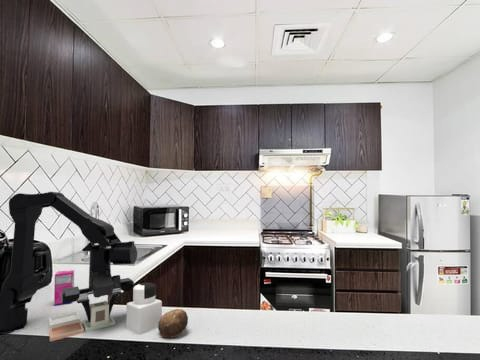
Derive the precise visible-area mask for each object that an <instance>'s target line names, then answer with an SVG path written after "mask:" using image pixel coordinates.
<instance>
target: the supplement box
mask: <svg viewBox="0 0 480 360" xmlns="http://www.w3.org/2000/svg"><path fill="white" fill-rule="evenodd" d="M71 287H75V269H74V268H73V269H68V270H60V271H59V270H58V271H57V272H56V273H55V274H54V291H53V292H54V294H53V295H54V297H53V298H54V299H53V304H54V305H53V306H54V307H58V306H61V305H62V306H63V305H69V304H72V303H73V302H69V303H62V291H63V290H64V289H65V288H71Z"/></svg>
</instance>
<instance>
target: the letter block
mask: <svg viewBox="0 0 480 360" xmlns="http://www.w3.org/2000/svg"><path fill="white" fill-rule="evenodd" d="M107 301H108V300H104V301H99V302H95V303H89V305H90V315H91V320H90V322H89V325H90V327H93V326H97V325H101V324H105V323H109V304H108V303H107Z"/></svg>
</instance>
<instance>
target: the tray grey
mask: <svg viewBox="0 0 480 360" xmlns="http://www.w3.org/2000/svg"><path fill="white" fill-rule="evenodd" d="M48 321H49V322H48V323H49V324H48V325H49V326H48V327H49V328H48V329H49V330H50V328H53V327H58V326H62V325H66V324H70V323H75V322H79V321H81V317H80V314H79V312H78V311H75V312H68V313H66V314H64V313H63V314H61V315H60V314H59V315H55V316H51V317H49V318H48Z"/></svg>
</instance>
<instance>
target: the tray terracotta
mask: <svg viewBox="0 0 480 360" xmlns="http://www.w3.org/2000/svg"><path fill="white" fill-rule="evenodd" d="M82 322H83V321H81V320H80V321H79V322H75V323H70V324H66V325H62V326H58V327H53V328H50V329H49V342H54V341H58V340H61V339H66V338H69V337H73V336H77V335H80V334H83V333H85V330H84V327H83V324H82Z"/></svg>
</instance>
